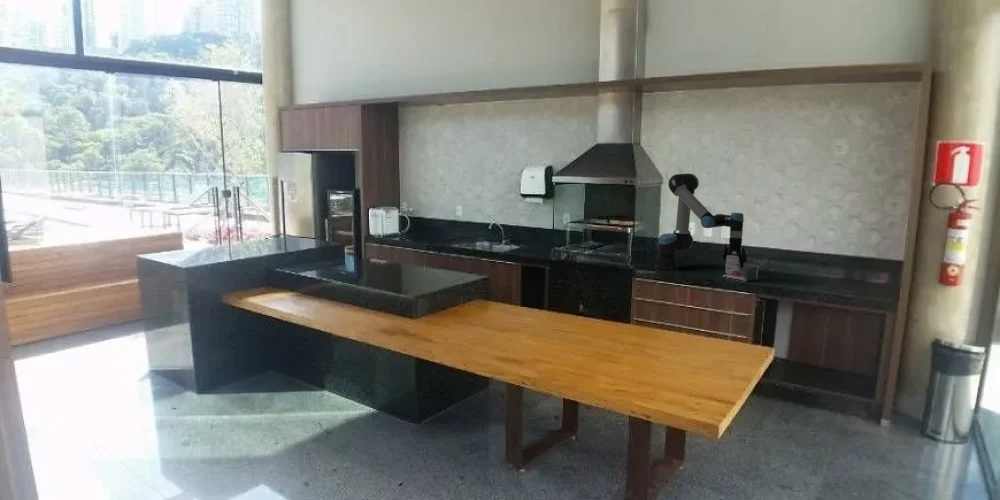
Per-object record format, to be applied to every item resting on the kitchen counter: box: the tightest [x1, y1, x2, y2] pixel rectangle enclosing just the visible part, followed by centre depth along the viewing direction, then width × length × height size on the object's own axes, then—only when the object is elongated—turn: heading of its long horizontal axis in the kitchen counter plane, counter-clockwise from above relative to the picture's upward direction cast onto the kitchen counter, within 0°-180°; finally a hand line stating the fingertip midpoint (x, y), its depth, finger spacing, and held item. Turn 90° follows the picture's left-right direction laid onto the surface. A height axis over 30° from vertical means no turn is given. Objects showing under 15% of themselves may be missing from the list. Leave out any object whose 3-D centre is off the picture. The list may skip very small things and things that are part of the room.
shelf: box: [722, 262, 759, 282], centre depth 371 cm, size 16×13×9 cm
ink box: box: [725, 254, 741, 275], centre depth 374 cm, size 8×5×12 cm, turn 39°
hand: (733, 271), depth 375 cm, fingers closed on ink box, 9 cm apart
